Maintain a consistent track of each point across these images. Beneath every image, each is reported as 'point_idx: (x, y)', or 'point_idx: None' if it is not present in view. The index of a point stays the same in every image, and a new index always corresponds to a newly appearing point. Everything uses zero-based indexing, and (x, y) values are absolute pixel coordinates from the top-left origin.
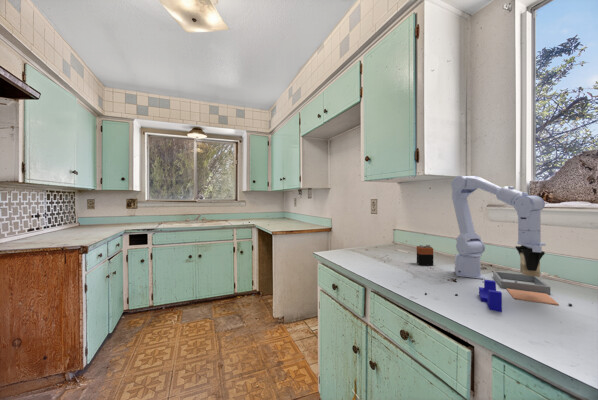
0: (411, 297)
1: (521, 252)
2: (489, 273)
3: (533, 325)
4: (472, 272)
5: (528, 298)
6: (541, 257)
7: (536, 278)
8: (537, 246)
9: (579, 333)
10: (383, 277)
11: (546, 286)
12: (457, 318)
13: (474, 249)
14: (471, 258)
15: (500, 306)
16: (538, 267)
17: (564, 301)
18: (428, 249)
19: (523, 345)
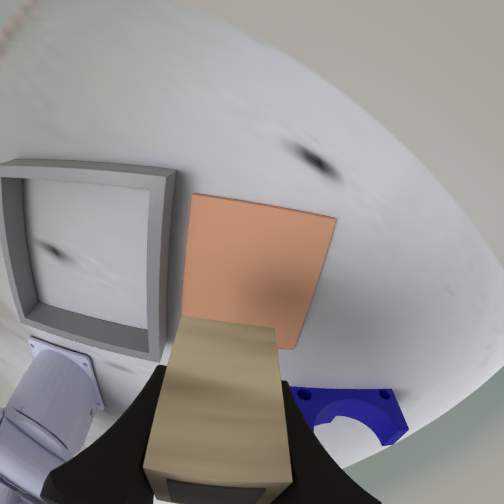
0: None
1: (151, 498)
2: (4, 298)
3: (451, 350)
4: (85, 394)
5: (290, 307)
6: (349, 478)
7: (27, 177)
8: None
9: (488, 281)
10: None
11: (159, 193)
12: (405, 433)
13: (45, 467)
14: (67, 442)
15: (394, 401)
16: (277, 388)
17: (273, 158)
18: None
19: (484, 374)
